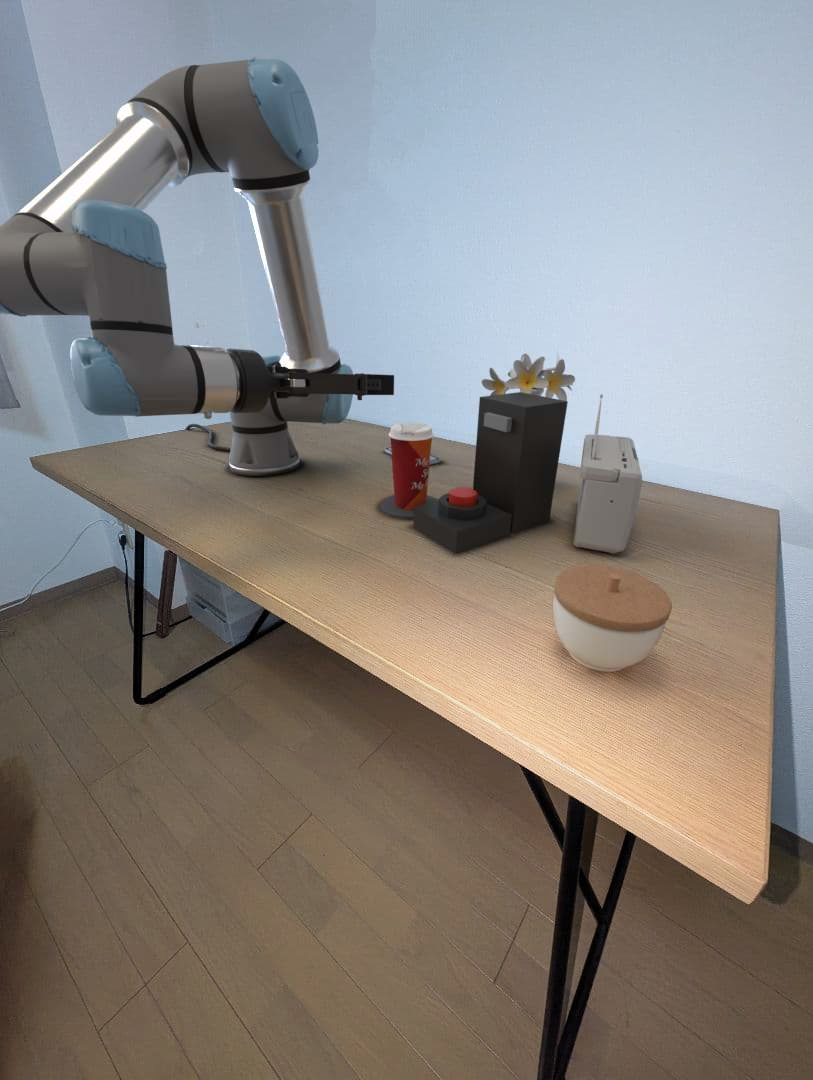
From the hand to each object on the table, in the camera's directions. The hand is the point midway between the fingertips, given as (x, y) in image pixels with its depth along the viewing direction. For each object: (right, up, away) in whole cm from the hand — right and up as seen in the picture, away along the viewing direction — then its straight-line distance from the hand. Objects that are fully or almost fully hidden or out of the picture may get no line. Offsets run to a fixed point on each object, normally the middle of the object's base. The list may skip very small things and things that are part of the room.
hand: (361, 384), depth 72 cm
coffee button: (+16, -18, +2) cm, 24 cm away
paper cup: (+8, -17, +14) cm, 23 cm away
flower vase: (+30, -12, +25) cm, 41 cm away
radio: (+38, -22, +7) cm, 45 cm away
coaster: (+8, -18, +14) cm, 24 cm away
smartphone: (+8, -4, +42) cm, 43 cm away
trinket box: (+27, -36, -22) cm, 50 cm away
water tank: (+25, -20, +10) cm, 33 cm away
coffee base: (+16, -22, +5) cm, 28 cm away
